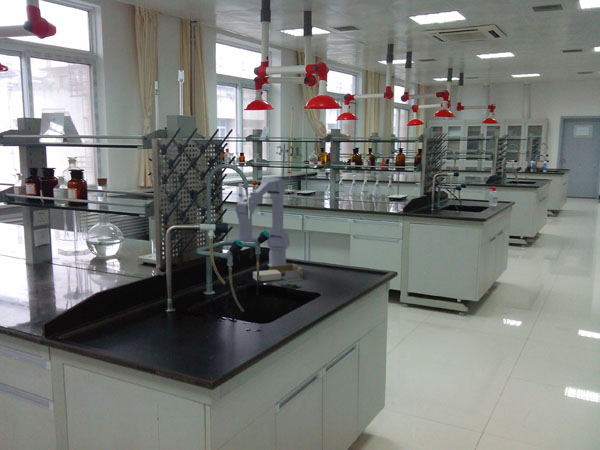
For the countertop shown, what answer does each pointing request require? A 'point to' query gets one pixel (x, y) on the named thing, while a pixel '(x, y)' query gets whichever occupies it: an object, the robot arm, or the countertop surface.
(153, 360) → the countertop surface
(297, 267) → the brown wooden tray
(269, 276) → the cream rectangular block
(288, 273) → the bookend
